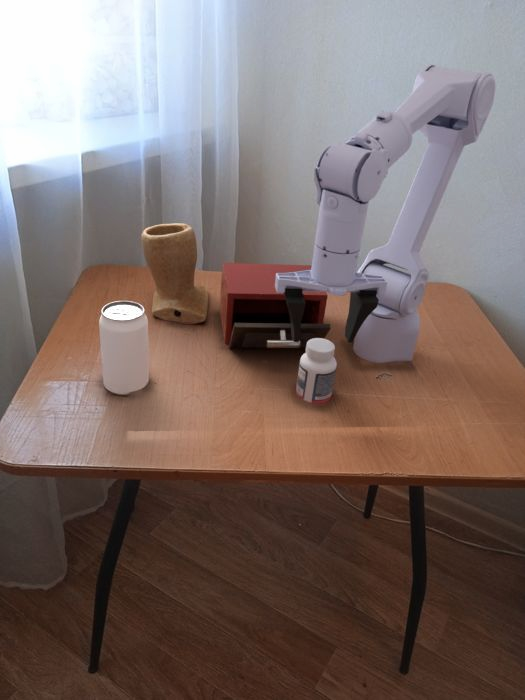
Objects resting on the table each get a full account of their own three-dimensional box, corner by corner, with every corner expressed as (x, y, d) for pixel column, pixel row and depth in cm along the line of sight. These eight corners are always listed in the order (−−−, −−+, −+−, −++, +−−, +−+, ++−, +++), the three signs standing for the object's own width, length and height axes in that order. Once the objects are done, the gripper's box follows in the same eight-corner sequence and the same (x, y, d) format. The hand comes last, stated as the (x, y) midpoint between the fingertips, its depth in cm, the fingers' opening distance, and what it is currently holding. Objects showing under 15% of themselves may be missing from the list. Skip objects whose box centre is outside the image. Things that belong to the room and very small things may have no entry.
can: (139, 400, 78) (136, 325, 72) (95, 391, 79) (89, 316, 73) (155, 375, 84) (154, 303, 77) (114, 367, 84) (110, 296, 78)
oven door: (316, 345, 94) (330, 323, 86) (318, 365, 92) (332, 345, 84) (228, 345, 91) (234, 322, 83) (229, 365, 90) (234, 344, 82)
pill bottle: (335, 393, 84) (345, 342, 79) (324, 411, 80) (333, 359, 75) (302, 382, 86) (310, 331, 81) (289, 399, 81) (296, 347, 77)
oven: (305, 315, 105) (312, 265, 99) (319, 348, 95) (327, 295, 89) (219, 313, 102) (222, 262, 97) (224, 348, 92) (227, 293, 87)
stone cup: (147, 288, 109) (146, 212, 101) (209, 291, 109) (212, 217, 102) (136, 326, 96) (132, 242, 88) (206, 330, 97) (209, 247, 89)
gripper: (286, 255, 66) (274, 353, 73) (402, 259, 68) (381, 354, 75) (276, 234, 72) (267, 327, 79) (384, 238, 74) (365, 328, 81)
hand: (322, 338), depth 77 cm, fingers open, 7 cm apart
